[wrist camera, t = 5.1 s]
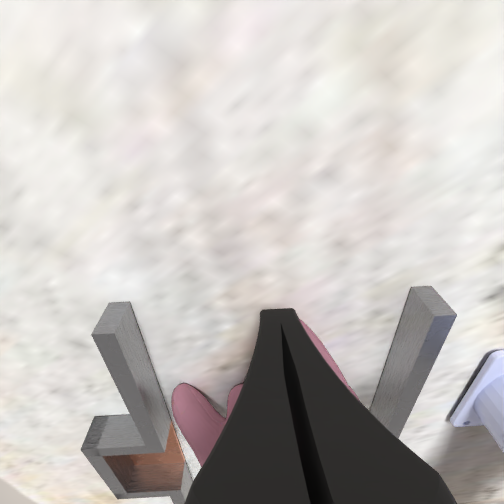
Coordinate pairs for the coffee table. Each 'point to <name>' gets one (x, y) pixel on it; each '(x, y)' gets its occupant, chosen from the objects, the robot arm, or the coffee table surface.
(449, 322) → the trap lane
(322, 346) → the video game controller
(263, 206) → the coffee table surface
